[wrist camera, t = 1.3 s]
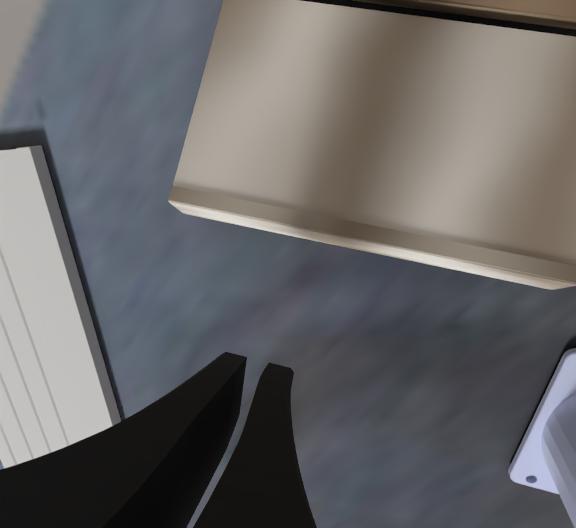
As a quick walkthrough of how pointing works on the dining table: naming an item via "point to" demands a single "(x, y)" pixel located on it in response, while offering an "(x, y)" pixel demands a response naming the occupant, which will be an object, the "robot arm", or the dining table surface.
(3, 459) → the baseboard
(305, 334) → the dining table surface
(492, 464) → the dining table surface
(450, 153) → the tan flat block
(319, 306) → the dining table surface
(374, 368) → the dining table surface
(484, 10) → the floor board
